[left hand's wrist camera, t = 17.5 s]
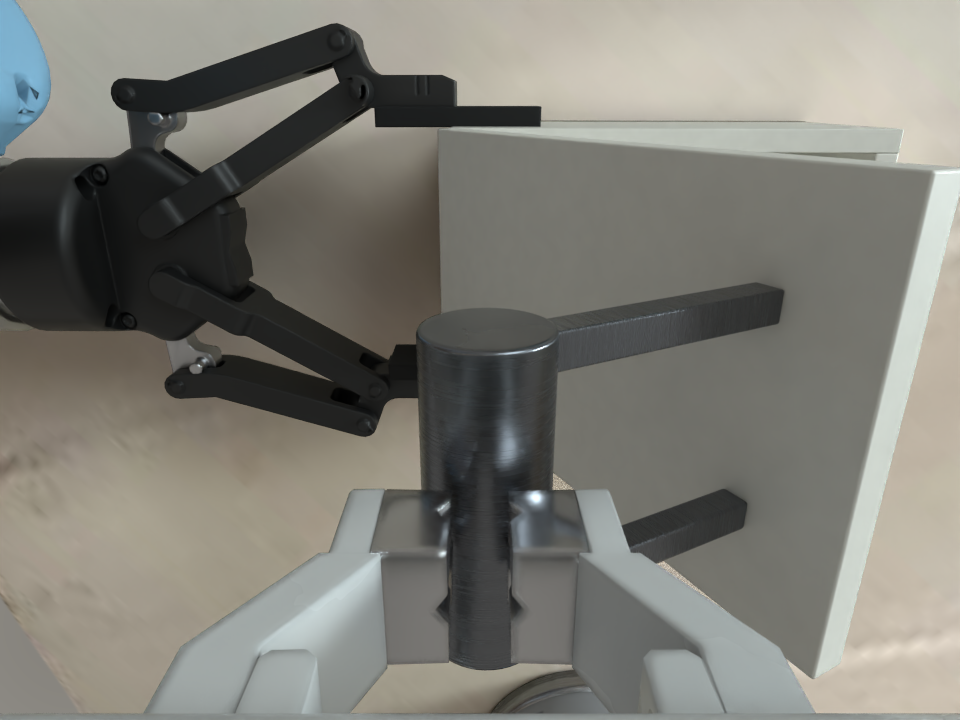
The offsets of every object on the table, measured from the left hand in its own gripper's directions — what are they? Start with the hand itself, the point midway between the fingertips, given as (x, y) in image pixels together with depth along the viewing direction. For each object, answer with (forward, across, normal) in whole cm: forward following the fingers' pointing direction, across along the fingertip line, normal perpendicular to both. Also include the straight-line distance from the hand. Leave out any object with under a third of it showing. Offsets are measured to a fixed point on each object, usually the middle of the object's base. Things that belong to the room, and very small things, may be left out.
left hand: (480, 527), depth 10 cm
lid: (+10, +3, 0) cm, 10 cm away
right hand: (+21, +2, 0) cm, 21 cm away
